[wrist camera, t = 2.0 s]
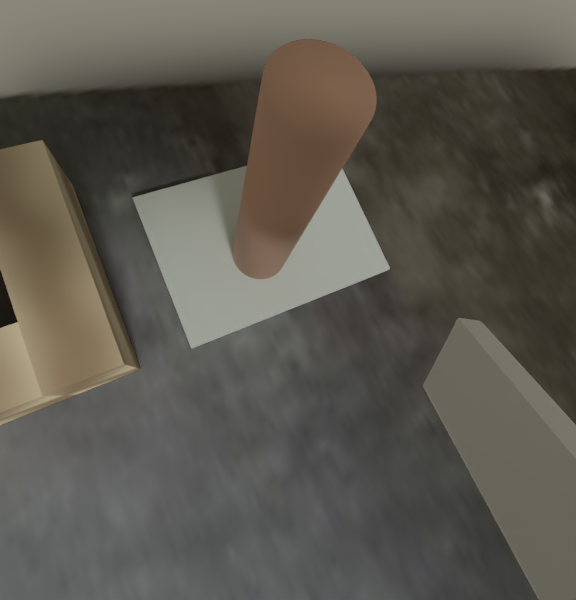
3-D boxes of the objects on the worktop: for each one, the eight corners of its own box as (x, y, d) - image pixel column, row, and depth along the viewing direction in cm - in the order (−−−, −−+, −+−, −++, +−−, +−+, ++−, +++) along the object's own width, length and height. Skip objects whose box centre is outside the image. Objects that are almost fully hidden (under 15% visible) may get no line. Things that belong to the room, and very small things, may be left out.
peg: (273, 222, 25) (347, 30, 12) (293, 268, 25) (395, 125, 11) (224, 238, 24) (243, 50, 11) (244, 286, 24) (291, 154, 10)
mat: (328, 146, 28) (329, 142, 27) (387, 270, 26) (390, 268, 26) (133, 200, 24) (132, 197, 24) (191, 348, 23) (191, 348, 22)
